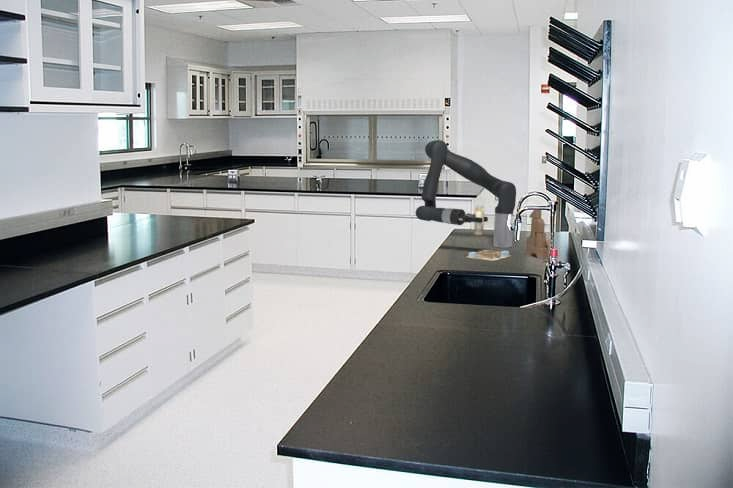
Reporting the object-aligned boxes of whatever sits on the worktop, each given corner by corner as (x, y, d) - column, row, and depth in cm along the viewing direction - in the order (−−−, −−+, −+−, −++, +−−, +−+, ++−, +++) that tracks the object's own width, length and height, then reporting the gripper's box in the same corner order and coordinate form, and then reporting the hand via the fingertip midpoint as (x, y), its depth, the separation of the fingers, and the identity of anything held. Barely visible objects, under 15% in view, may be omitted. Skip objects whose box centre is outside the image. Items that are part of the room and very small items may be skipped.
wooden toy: (554, 261, 323) (557, 207, 319) (541, 262, 321) (544, 207, 317) (535, 255, 337) (538, 203, 333) (523, 256, 335) (525, 203, 331)
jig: (485, 254, 339) (485, 247, 338) (511, 258, 330) (512, 250, 330) (465, 259, 325) (465, 251, 325) (492, 263, 317) (492, 255, 316)
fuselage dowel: (477, 233, 332) (478, 205, 330) (484, 234, 330) (486, 206, 328) (472, 234, 330) (473, 206, 327) (480, 235, 327) (481, 207, 325)
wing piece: (504, 254, 332) (504, 250, 332) (509, 255, 330) (509, 251, 330) (497, 256, 327) (498, 252, 327) (502, 257, 326) (502, 252, 326)
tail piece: (473, 256, 328) (473, 251, 327) (477, 256, 326) (478, 252, 326) (468, 257, 325) (468, 252, 324) (473, 257, 323) (473, 253, 323)
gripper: (445, 209, 332) (476, 213, 321) (462, 207, 342) (493, 210, 331) (444, 225, 333) (476, 229, 322) (461, 222, 344) (492, 226, 333)
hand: (484, 219), depth 327 cm, fingers closed on fuselage dowel, 4 cm apart
